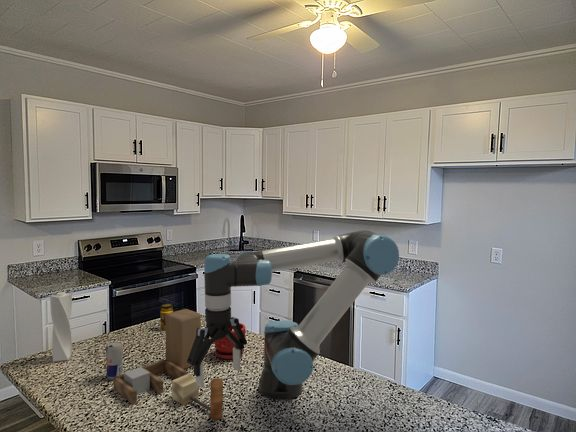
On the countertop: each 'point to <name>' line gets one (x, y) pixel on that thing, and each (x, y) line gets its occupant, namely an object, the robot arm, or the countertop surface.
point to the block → (138, 379)
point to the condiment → (164, 310)
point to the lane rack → (154, 380)
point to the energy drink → (114, 360)
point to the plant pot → (227, 345)
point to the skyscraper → (61, 326)
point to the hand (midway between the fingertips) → (219, 377)
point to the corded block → (189, 391)
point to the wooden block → (181, 335)
